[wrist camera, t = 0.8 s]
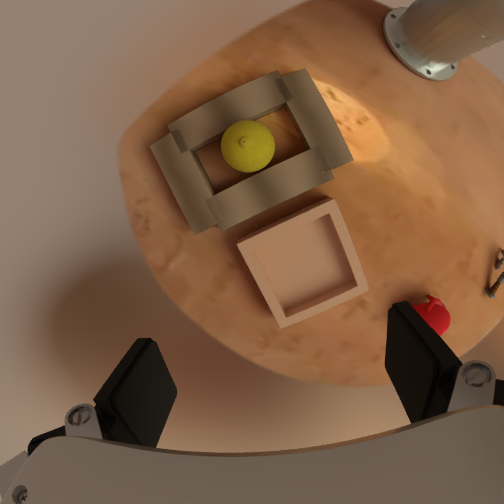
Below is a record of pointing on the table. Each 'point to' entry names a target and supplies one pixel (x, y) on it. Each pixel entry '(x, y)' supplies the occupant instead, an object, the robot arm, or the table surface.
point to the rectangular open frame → (268, 181)
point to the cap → (434, 314)
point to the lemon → (247, 146)
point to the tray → (304, 262)
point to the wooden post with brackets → (500, 280)
